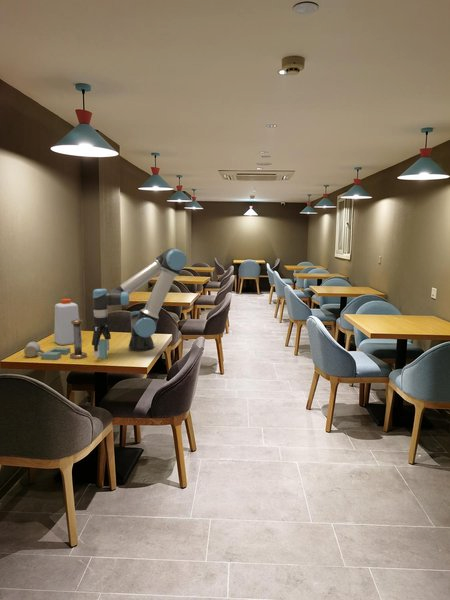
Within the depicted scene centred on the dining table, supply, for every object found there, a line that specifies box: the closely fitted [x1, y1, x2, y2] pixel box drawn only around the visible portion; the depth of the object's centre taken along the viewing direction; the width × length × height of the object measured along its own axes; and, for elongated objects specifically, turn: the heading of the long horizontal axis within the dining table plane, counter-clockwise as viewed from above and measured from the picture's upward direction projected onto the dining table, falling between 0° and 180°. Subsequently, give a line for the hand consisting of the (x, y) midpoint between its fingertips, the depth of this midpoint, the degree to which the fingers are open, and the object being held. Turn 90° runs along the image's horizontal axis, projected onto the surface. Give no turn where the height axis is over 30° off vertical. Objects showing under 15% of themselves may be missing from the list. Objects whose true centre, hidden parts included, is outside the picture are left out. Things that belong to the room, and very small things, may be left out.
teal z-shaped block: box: [40, 346, 72, 361], centre depth 264 cm, size 9×16×3 cm, turn 171°
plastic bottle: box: [53, 298, 83, 346], centre depth 294 cm, size 15×15×28 cm
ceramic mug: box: [23, 341, 46, 358], centre depth 263 cm, size 11×8×8 cm
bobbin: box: [69, 319, 88, 360], centre depth 260 cm, size 9×9×21 cm
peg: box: [97, 338, 108, 359], centre depth 260 cm, size 4×4×10 cm
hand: (102, 353), depth 260 cm, fingers open, 13 cm apart
